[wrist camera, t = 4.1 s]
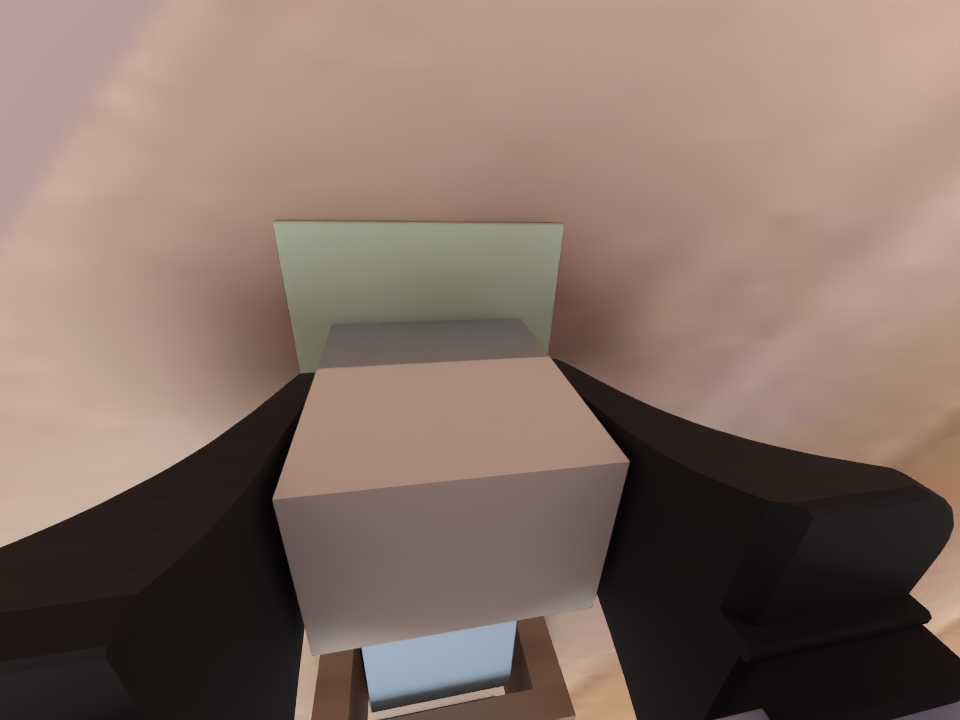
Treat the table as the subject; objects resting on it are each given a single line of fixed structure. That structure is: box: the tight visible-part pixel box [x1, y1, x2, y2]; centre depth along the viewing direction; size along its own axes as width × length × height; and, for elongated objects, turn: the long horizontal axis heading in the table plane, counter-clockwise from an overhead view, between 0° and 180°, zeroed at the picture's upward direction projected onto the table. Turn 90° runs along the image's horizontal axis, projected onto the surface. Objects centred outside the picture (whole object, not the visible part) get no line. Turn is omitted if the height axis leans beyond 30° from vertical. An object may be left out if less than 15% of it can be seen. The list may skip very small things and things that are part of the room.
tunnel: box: [311, 616, 576, 720], centre depth 17 cm, size 6×9×4 cm
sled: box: [272, 319, 630, 712], centre depth 11 cm, size 14×5×6 cm, turn 178°
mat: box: [273, 221, 564, 374], centre depth 12 cm, size 7×7×1 cm
